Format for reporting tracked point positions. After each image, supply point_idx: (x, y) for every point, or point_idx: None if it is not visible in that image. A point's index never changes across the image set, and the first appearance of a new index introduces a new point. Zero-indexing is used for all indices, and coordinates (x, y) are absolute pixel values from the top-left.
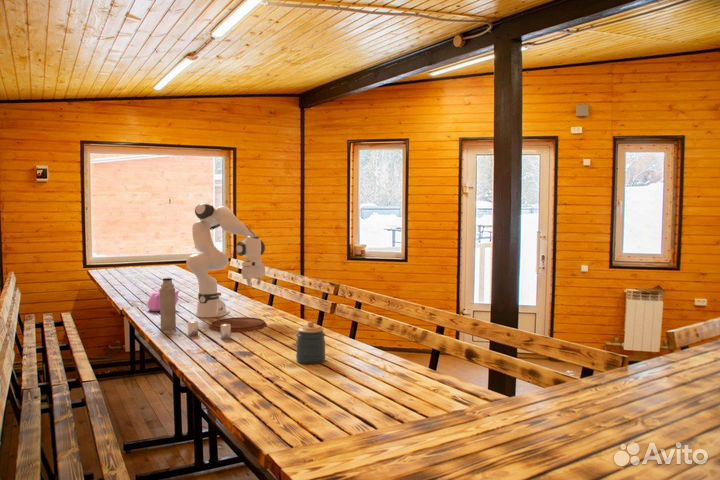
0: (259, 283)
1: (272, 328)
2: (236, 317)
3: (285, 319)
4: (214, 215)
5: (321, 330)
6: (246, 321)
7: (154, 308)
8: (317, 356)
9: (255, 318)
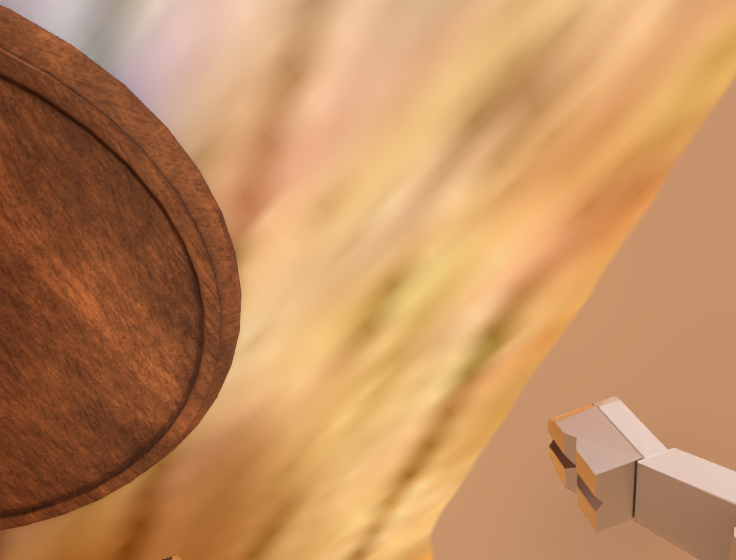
0: (573, 485)
1: (140, 531)
2: (40, 76)
3: (453, 366)
4: None
5: None
6: (40, 321)
7: None
8: None
9: (200, 292)
